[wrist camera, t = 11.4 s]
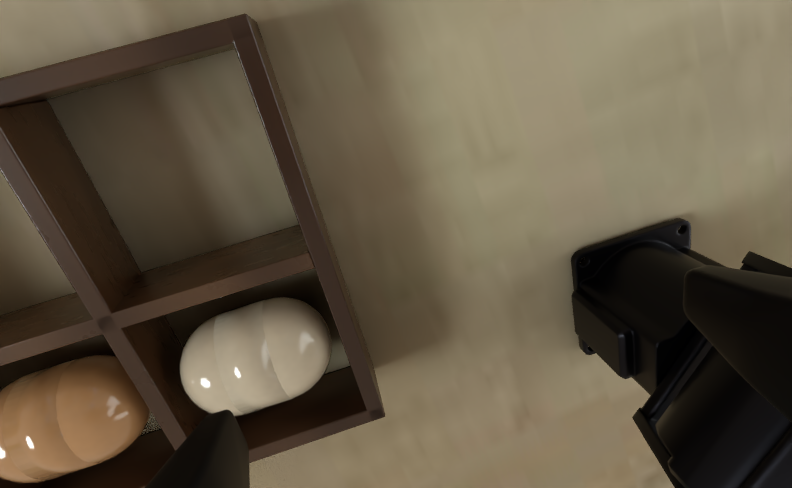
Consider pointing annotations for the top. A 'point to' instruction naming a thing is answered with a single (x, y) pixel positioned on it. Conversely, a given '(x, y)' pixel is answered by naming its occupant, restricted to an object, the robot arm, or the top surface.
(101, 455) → the brown egg
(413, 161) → the top surface
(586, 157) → the top surface
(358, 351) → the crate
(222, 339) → the cream egg
